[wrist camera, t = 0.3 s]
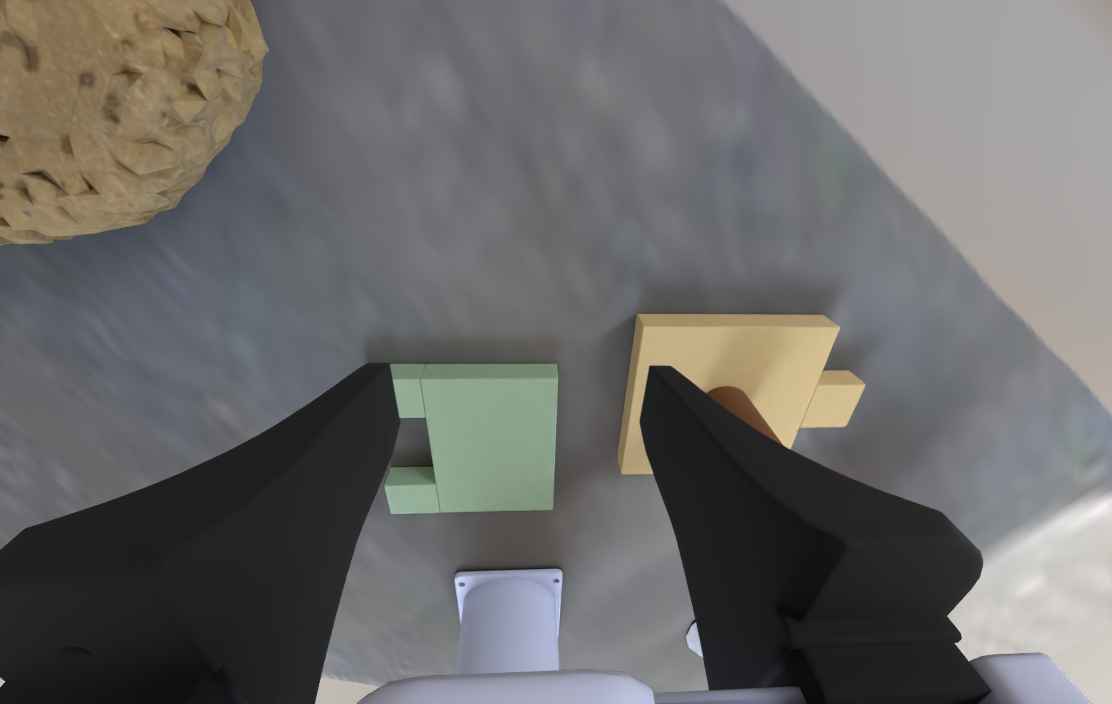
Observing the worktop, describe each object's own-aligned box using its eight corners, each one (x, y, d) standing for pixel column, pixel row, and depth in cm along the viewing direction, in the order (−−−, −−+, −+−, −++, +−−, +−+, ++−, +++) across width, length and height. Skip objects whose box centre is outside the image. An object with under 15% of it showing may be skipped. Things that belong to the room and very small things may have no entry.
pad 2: (811, 454, 28) (869, 526, 23) (616, 457, 27) (635, 532, 22) (873, 314, 23) (963, 370, 18) (636, 313, 22) (665, 371, 17)
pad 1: (551, 491, 28) (552, 510, 27) (397, 495, 28) (390, 514, 26) (556, 362, 23) (558, 378, 22) (367, 363, 23) (358, 379, 21)
